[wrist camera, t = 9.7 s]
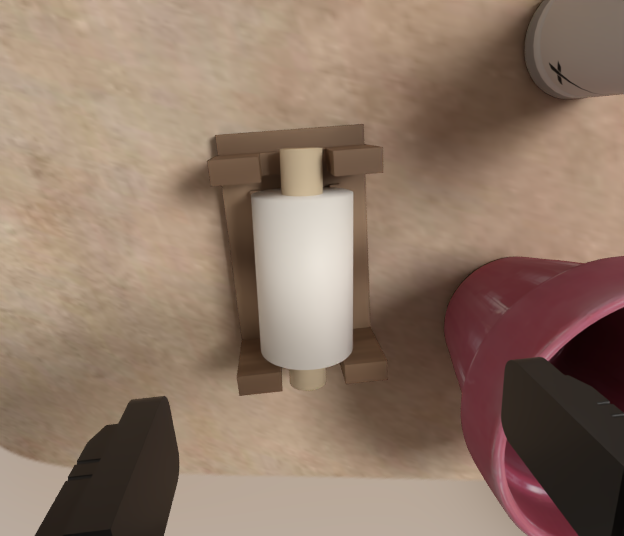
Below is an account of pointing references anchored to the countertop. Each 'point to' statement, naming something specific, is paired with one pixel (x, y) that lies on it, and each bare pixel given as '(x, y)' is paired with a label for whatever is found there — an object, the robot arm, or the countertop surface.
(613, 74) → the travel mug
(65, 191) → the countertop surface
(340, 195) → the roll
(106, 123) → the countertop surface
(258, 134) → the holder
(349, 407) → the countertop surface
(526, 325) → the plant pot
